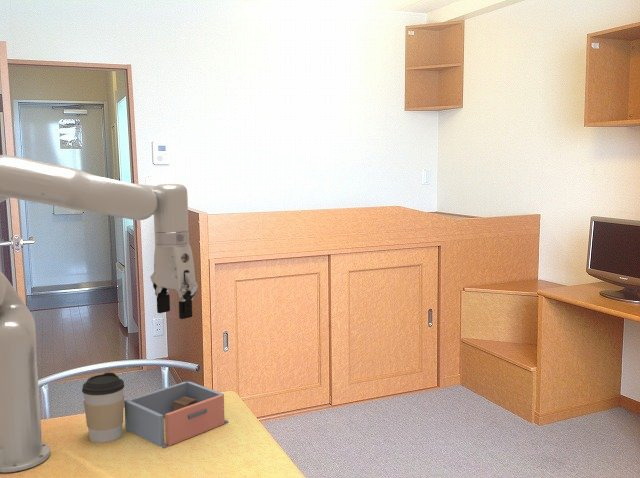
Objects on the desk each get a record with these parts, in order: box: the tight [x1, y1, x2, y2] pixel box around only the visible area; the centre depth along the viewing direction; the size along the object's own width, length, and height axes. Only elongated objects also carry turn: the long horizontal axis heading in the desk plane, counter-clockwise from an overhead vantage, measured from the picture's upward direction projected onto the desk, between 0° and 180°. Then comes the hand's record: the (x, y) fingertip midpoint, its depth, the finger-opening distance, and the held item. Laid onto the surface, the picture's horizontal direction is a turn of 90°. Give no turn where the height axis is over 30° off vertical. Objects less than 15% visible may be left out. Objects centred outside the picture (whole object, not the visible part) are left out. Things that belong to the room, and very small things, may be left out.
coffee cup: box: [81, 371, 125, 444], centre depth 143 cm, size 9×9×15 cm
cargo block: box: [173, 396, 197, 411], centre depth 156 cm, size 4×4×4 cm
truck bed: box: [124, 380, 229, 449], centre depth 149 cm, size 18×15×8 cm
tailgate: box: [164, 394, 225, 447], centre depth 144 cm, size 16×1×7 cm, turn 138°
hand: (174, 314), depth 146 cm, fingers open, 7 cm apart
